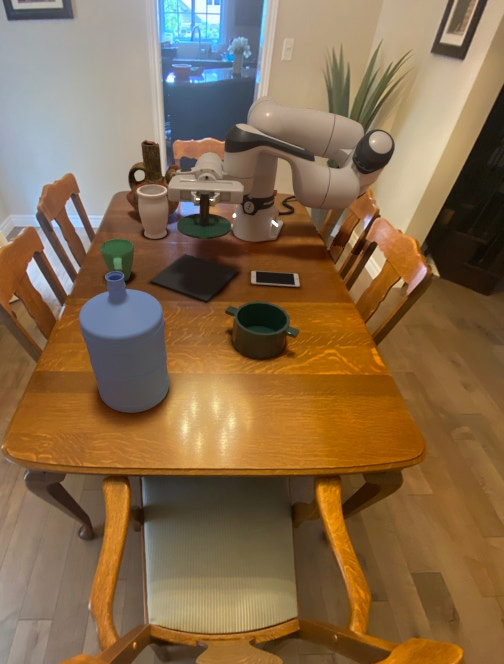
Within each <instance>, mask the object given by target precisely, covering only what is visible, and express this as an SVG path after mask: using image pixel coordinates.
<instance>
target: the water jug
mask: <svg viewBox="0 0 504 664" xmlns="http://www.w3.org/2000/svg"><path fill="white" fill-rule="evenodd" d="M104 279H105V281H106V288H107V290H106V291H104V292H101V293H99V294H97V295H95V296H93V297H92V298H90V299H88V300H87V301H86V302H85V303H84V304H85V305H84V306H83V305H82V307H81V309H80V311H79V314H78V320H79V328H80V331H81V336H82V338H83V340H84V342H85V346H86V350H87V353H88V357H89V363H90V366H91V369H92V371H93V373H94V376H95V380H96V383H97V389H98V393H99V396H100V398H101V400H102V401H103V403H104V404H105V405H106V406H107V407H109V408H111V409H112V410H115V411H117V412H121V413H127V414H129V413H130V414H134V413H141V412H145V411H148V410H150V409H153V408H154V407H156V406H157V405H159V404H160V403H161V402H162V401H163V400H164V399H165V398H166V396H167V394H168V393H169V392H168V391H169V388H170V378H169V374H168V354H167V353H168V352H167V348H166V336H165V335H166V334H165V315H164V312H163V307H162V304H161V303H160V302H159V300H158V299H157V298H156V297H155V296H153V295H152V294H150V293H148V292H145V291H142V290H139V289H132V288H127V286H126V281H124V274H123V273H122V272H118V271H113V272H110V271H108V272H107V273H106V274H105V276H104Z"/></svg>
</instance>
